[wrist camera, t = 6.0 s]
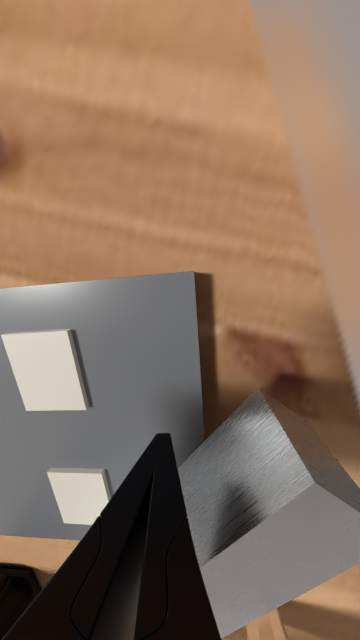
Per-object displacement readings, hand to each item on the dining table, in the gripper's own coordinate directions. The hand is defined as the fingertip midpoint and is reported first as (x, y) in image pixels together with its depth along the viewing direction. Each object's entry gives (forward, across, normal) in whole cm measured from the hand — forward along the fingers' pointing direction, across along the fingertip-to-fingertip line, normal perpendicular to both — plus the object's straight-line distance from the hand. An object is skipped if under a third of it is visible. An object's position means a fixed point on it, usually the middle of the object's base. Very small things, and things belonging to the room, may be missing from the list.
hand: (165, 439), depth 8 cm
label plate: (+3, +7, +4) cm, 9 cm away
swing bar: (+1, +1, +7) cm, 7 cm away
